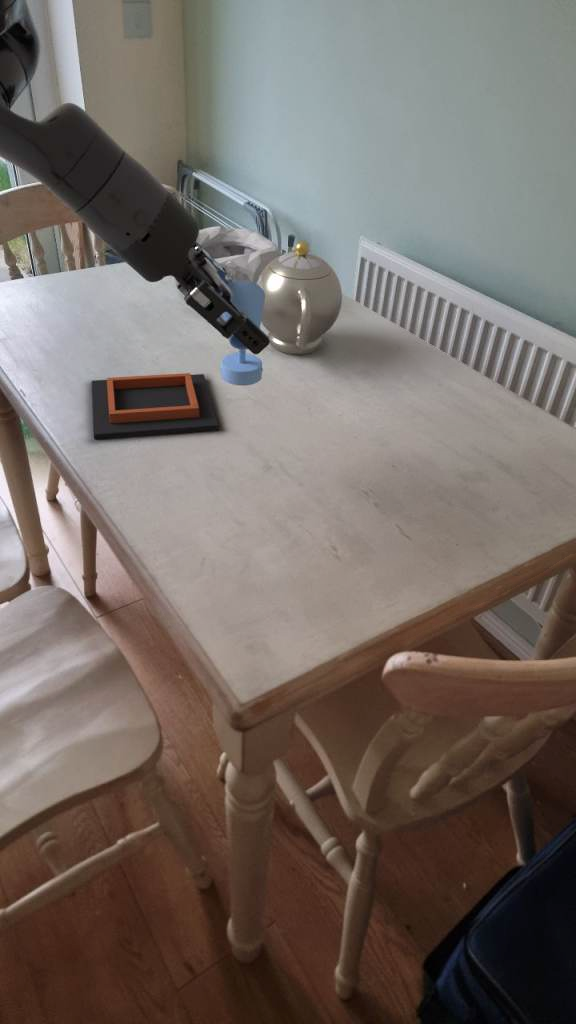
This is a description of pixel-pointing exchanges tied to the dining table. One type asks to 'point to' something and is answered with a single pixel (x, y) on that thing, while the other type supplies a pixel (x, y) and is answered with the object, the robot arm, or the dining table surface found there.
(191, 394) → the pad
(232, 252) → the bowl
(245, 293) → the spotlight
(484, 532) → the dining table surface
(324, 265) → the teapot
